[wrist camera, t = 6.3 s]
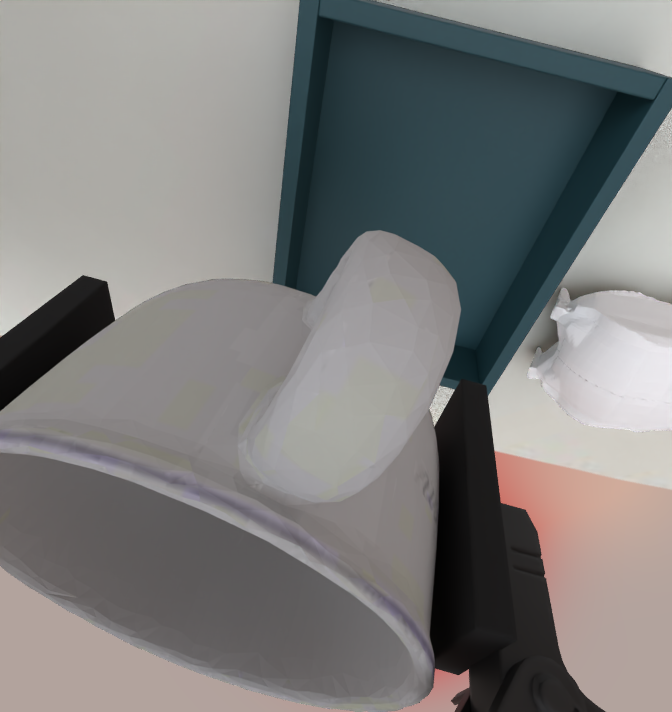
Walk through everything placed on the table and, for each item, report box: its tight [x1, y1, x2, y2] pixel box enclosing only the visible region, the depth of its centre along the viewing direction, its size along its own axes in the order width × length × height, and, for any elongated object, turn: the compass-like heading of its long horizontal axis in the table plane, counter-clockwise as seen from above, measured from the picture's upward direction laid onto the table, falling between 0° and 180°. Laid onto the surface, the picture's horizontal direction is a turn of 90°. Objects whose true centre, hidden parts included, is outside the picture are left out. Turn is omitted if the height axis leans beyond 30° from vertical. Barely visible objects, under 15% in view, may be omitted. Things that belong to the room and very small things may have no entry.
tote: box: [273, 0, 672, 396], centre depth 24 cm, size 16×19×5 cm
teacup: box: [0, 230, 461, 712], centre depth 11 cm, size 14×11×8 cm
